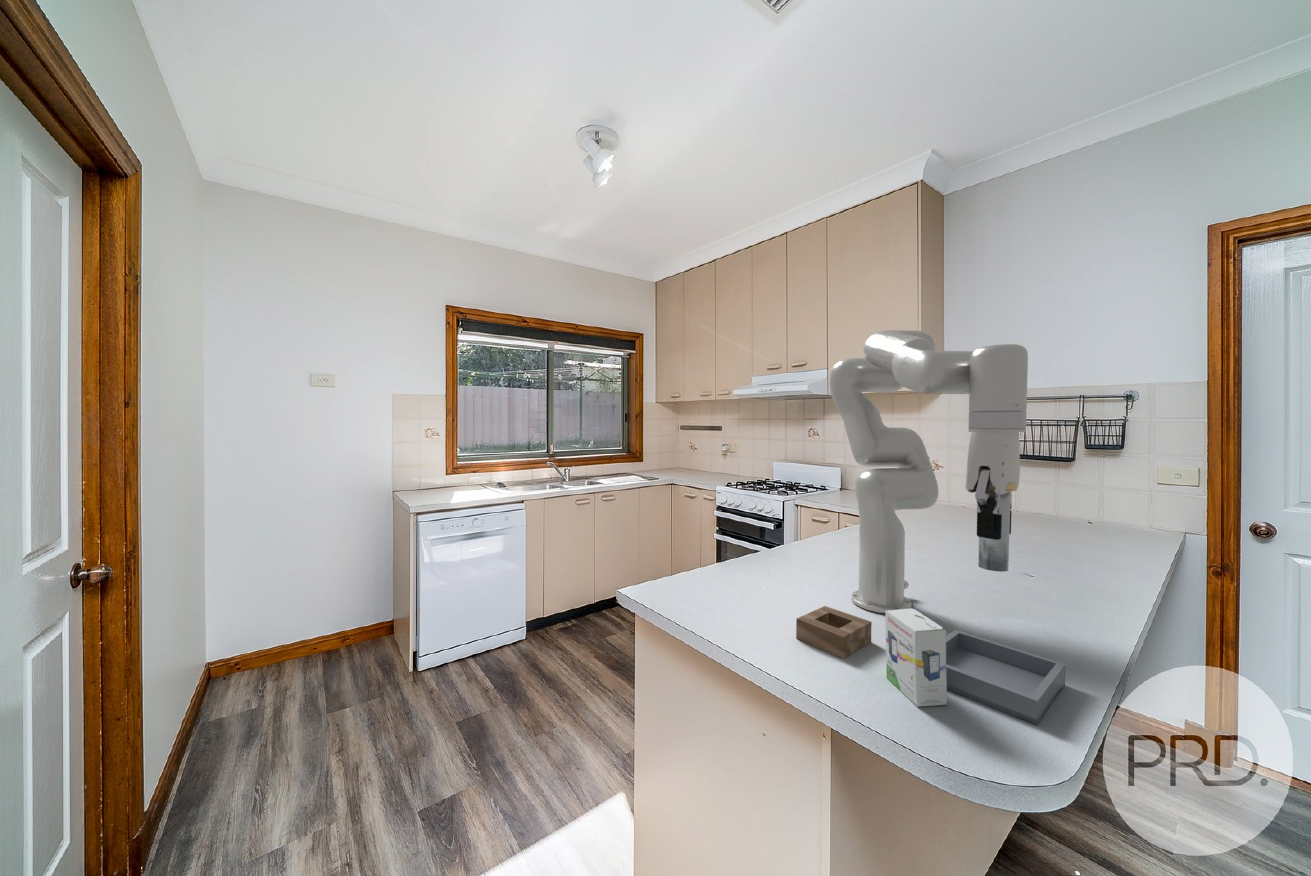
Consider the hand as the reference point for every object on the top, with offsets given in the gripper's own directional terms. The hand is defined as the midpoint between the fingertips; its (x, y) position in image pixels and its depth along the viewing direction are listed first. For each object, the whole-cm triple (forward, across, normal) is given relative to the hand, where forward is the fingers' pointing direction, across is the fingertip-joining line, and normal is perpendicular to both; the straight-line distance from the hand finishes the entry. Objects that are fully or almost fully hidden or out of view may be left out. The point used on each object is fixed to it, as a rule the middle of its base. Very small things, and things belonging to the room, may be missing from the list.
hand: (993, 534), depth 77 cm
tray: (+24, 0, 0) cm, 24 cm away
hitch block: (+24, +7, -24) cm, 35 cm away
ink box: (+25, +13, -7) cm, 29 cm away
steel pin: (+5, 0, 0) cm, 5 cm away
